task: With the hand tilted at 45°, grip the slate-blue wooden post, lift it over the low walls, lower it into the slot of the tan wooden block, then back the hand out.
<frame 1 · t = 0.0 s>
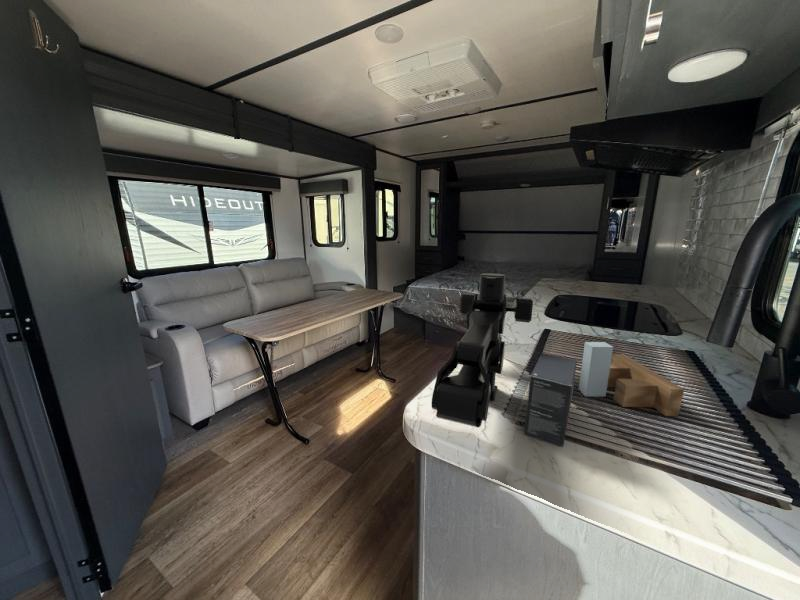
hand: (498, 300, 92), 17 cm above the worktop, tool horizontal, fingers open, 9 cm apart
post: (591, 393, 72), on the worktop
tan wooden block: (625, 393, 72), on the worktop
small box: (548, 424, 61), on the worktop
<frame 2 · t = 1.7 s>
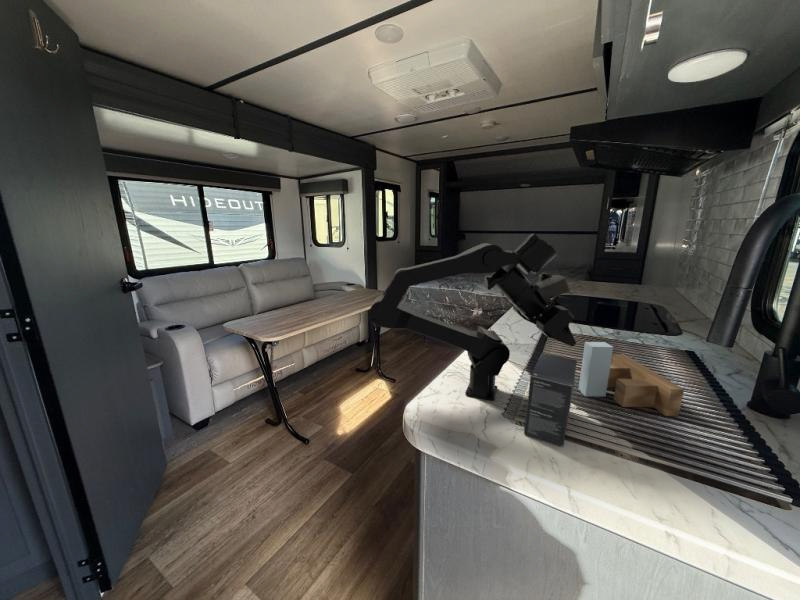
hand: (563, 337, 70), 14 cm above the worktop, tool tilted 45°, fingers open, 9 cm apart
nothing on the worktop moved.
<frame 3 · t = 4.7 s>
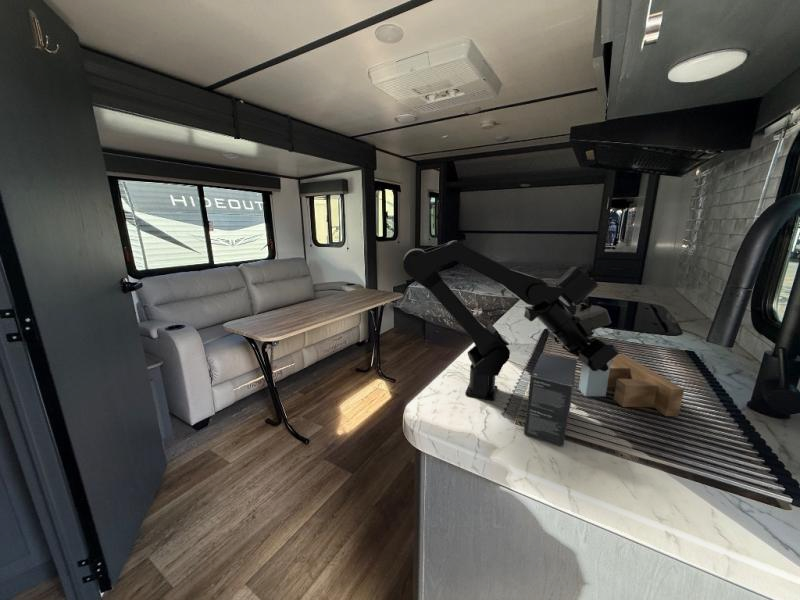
hand: (601, 366, 71), 7 cm above the worktop, tool tilted 45°, fingers closed on post, 3 cm apart
post: (591, 393, 72), on the worktop, touching gripper
everything else where it was.
when the fingers open (8 cm above the worktop, at t = 8.1 s): post drops 1 cm, on the worktop.
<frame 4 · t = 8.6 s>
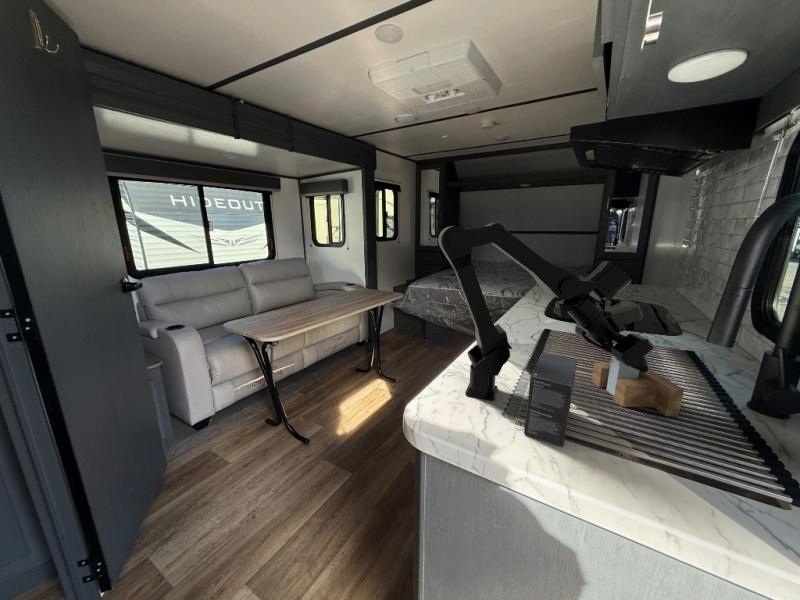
hand: (631, 362, 70), 8 cm above the worktop, tool tilted 45°, fingers open, 9 cm apart
post: (620, 393, 72), on the worktop
everything else where it was.
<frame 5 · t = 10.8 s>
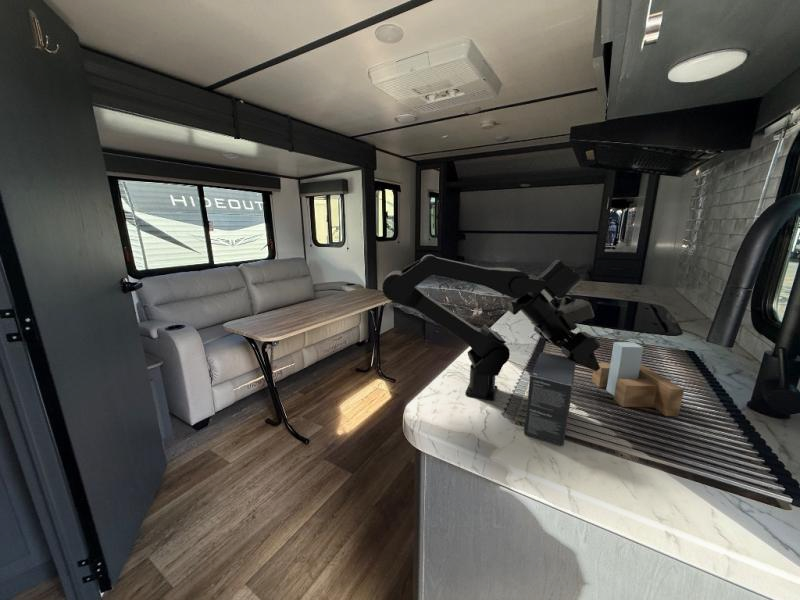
hand: (586, 360, 71), 8 cm above the worktop, tool tilted 45°, fingers open, 9 cm apart
small box: (547, 423, 61), on the worktop, touching gripper
everything else where it was.
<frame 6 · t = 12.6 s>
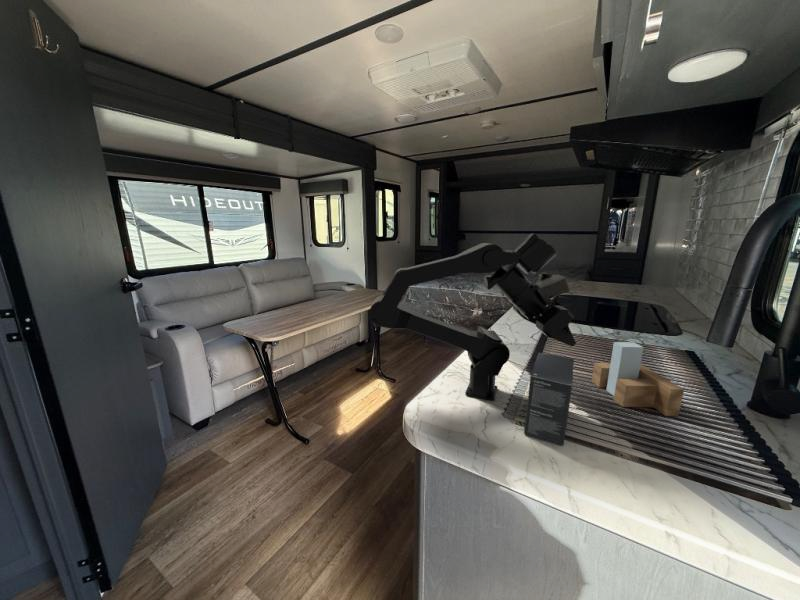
hand: (563, 337, 70), 14 cm above the worktop, tool tilted 45°, fingers open, 9 cm apart
small box: (546, 423, 62), on the worktop
everything else where it was.
at the end: post 0.0 cm from the target spot on the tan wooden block, point 0.0 cm above the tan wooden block's base; post tilted 0°; the gripper is holding nothing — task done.
